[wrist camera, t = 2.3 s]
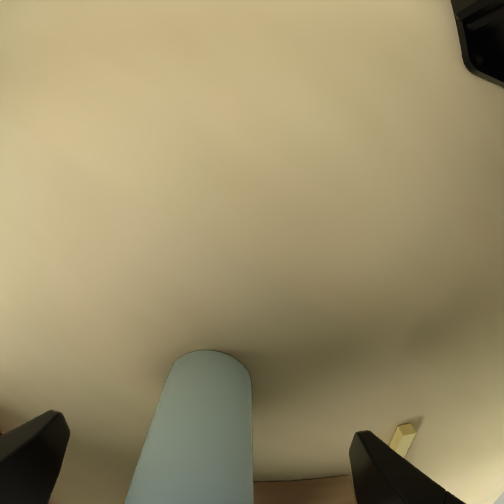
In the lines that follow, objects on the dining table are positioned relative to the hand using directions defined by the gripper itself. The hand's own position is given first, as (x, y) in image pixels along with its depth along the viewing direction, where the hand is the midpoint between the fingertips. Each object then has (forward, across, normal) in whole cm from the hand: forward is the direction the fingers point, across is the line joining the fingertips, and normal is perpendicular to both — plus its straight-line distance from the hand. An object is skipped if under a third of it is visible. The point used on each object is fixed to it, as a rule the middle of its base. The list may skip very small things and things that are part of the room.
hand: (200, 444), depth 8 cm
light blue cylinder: (+3, 0, 0) cm, 3 cm away
